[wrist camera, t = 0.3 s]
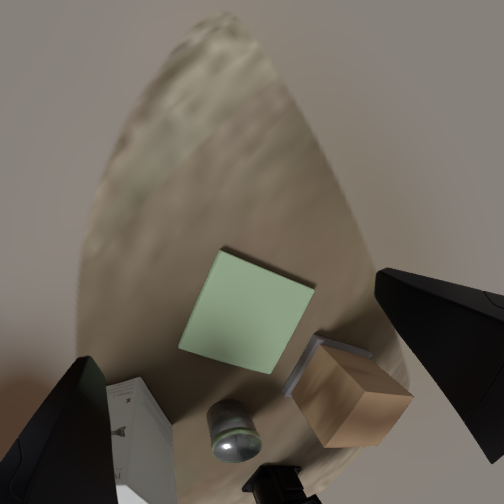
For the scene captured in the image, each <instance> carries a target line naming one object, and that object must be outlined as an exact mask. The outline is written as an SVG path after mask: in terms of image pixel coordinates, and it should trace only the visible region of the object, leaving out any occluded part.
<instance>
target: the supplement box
mask: <svg viewBox="0 0 504 504" xmlns="http://www.w3.org/2000/svg"><path fill="white" fill-rule="evenodd" d="M106 391H107V399H108V407H109V415H110V422H111V437H112V452H113V464H114V474H115V482H116V490H117V497H118V503H119V504H178V503H177V493H176V482H175V470H174V455H173V435H172V425H171V423H170V422H169V421H168V419H167V417H166V416H165V415H164V413H163V412H162V410H161V408H160V407H159V405H158V404H157V402H156V401H155V399H154V397H153V396H152V394H151V393H150V391H149V389H148V388H147V386H146V384H145V383H144V381H143V380H142V378H141V377H137V378H134V379H131V380H128V381H125V382H121V383H118V384H114V385H109V386H106Z"/></svg>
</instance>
